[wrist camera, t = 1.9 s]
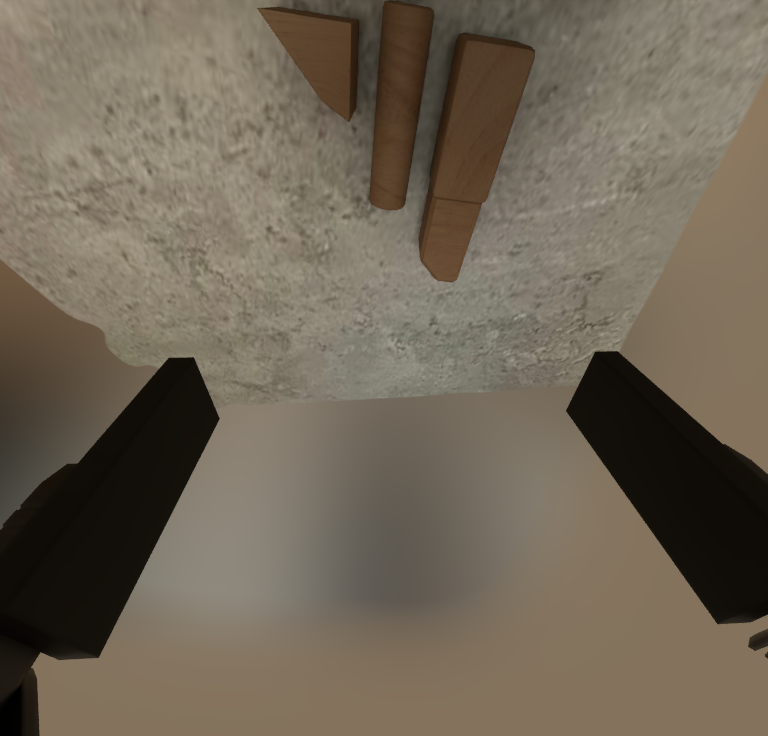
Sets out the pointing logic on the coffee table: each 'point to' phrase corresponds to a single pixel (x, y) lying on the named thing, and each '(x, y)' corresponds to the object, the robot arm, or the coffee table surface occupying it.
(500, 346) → the coffee table surface
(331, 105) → the wooden block set
